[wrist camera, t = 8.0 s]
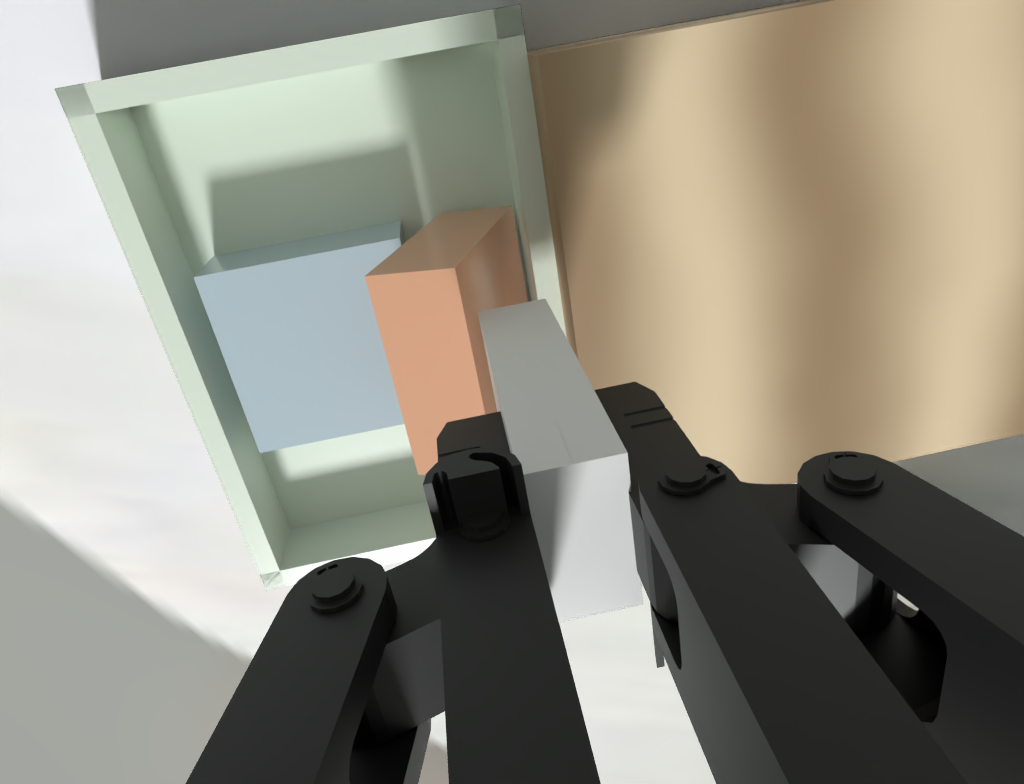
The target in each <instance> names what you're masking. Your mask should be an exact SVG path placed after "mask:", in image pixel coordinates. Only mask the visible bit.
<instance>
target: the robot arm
mask: <svg viewBox="0 0 1024 784" xmlns="http://www.w3.org/2000/svg"><path fill="white" fill-rule="evenodd" d="M478 316H479V321H480V326H481V331H482V336H483V341H484V347H485V352H486V357H487V362H488V367H489V372H490V377H491V382H492V387H493V392H494V397H495V403H496V408H497V412H494V413H489V414H485V415H480V416H475V417H470V418H465V419H460V420H455V421H451V422H447V423H446V424H445V426H444V428H443V429H442V431H441V432H440V434H439V436H438V437H437V454H438V462H437V463H436V464H435V465H434V466H433V467H432V468H431V469H430V470H429V471H428V472H427V473H426V476H425V479H424V482H423V488H424V492H425V495H426V499H427V503H428V507H429V510H430V514H431V518H432V522H433V525H434V529H435V533H436V539H435V540H434V541H433V542H432V544H431V545H430V546H429V547H428V548H427V549H426V550H424V551H423V552H422V553H421V554H419V555H418V556H417V557H415V558H413V559H411V560H409V561H407V562H406V563H404V564H402V565H399V566H397V567H395V568H393V569H390V570H388V571H386V572H385V571H384V569H383V567H382V566H381V565H380V564H379V563H377V562H375V561H373V560H371V559H369V558H360V557H348V558H343V559H337V560H333V561H330V562H328V563H326V564H323V565H321V566H319V567H317V568H314V569H313V570H312V571H310V572H309V573H308V574H306V575H305V576H304V577H302V578H301V579H299V580H298V582H297V583H296V584H295V585H294V587H293V588H292V589H291V590H290V592H289V593H288V594H287V596H286V598H285V600H284V602H283V604H282V605H281V607H280V609H279V611H278V613H277V615H276V617H275V618H274V620H273V622H272V624H271V626H270V628H269V630H268V632H267V633H266V635H265V637H264V639H263V641H262V643H261V645H260V646H259V648H258V650H257V652H256V654H255V656H254V658H253V659H252V661H251V663H250V665H249V667H248V669H247V671H246V672H245V675H244V676H243V678H242V680H241V682H240V684H239V686H238V687H237V689H236V691H235V693H234V695H233V697H232V699H231V700H230V702H229V704H228V706H227V708H226V710H225V712H224V713H223V715H222V717H221V719H220V721H219V723H218V725H217V726H216V728H215V730H214V732H213V734H212V736H211V738H210V740H209V741H208V743H207V745H206V747H205V749H204V751H203V752H202V754H201V756H200V758H199V760H198V762H197V764H196V766H195V767H194V769H193V771H192V773H191V775H190V777H189V779H188V780H187V782H186V784H418V782H419V777H420V773H421V769H422V765H423V760H424V756H425V752H426V748H427V743H428V739H429V735H430V731H431V718H433V717H434V716H436V715H438V714H440V713H442V712H444V711H445V716H446V735H447V754H448V773H449V784H601V783H600V780H599V776H598V772H597V768H596V764H595V760H594V756H593V752H592V749H591V745H590V741H589V737H588V733H587V729H586V725H585V722H584V718H583V714H582V710H581V706H580V702H579V698H578V695H577V691H576V687H575V683H574V679H573V675H572V671H571V668H570V664H569V660H568V656H567V652H566V648H565V644H564V641H563V637H562V633H561V629H560V625H559V622H564V621H569V620H573V619H578V618H582V617H587V616H591V615H596V614H601V613H605V612H610V611H614V610H619V609H624V608H628V607H633V606H637V605H642V604H643V596H642V587H641V581H642V584H643V586H644V588H645V591H646V593H647V595H648V598H649V600H650V605H651V615H652V626H653V636H654V646H655V656H656V663H657V668H658V667H663V666H664V657H665V660H666V662H667V664H668V667H669V669H670V672H671V674H672V677H673V679H674V681H675V684H676V686H677V689H678V691H679V694H680V696H681V699H682V701H683V703H684V706H685V708H686V711H687V713H688V716H689V718H690V720H691V723H692V725H693V728H694V730H695V733H696V735H697V737H698V740H699V742H700V745H701V747H702V750H703V752H704V755H705V757H706V759H707V762H708V764H709V767H710V769H711V772H712V774H713V776H714V779H715V781H716V784H1024V537H1023V536H1021V535H1020V534H1018V533H1016V532H1014V531H1013V530H1011V529H1009V528H1007V527H1006V526H1004V525H1002V524H1000V523H998V522H997V521H995V520H993V519H991V518H990V517H988V516H986V515H984V514H983V513H981V512H979V511H977V510H975V509H974V508H972V507H970V506H968V505H967V504H965V503H963V502H961V501H960V500H958V499H956V498H954V497H952V496H951V495H949V494H947V493H945V492H944V491H942V490H940V489H938V488H937V487H935V486H933V485H931V484H929V483H928V482H926V481H924V480H922V479H921V478H919V477H917V476H915V475H913V474H912V473H910V472H908V471H906V470H905V469H903V468H901V467H899V466H898V465H896V464H894V463H892V462H890V461H887V460H885V459H882V458H880V457H878V456H875V455H871V454H865V453H860V452H854V451H843V452H842V451H839V452H829V453H825V454H821V455H817V456H814V457H813V458H811V459H809V460H808V461H806V462H805V463H803V464H802V466H801V468H800V470H799V472H798V475H797V484H755V483H746V482H741V481H740V480H739V479H738V478H737V476H736V475H735V474H734V472H733V471H732V470H731V469H729V468H728V467H727V466H726V465H725V464H723V463H722V462H720V461H717V460H715V459H712V458H709V457H706V456H700V454H699V453H698V452H697V450H696V449H695V447H694V446H693V445H692V443H691V442H690V440H689V439H688V437H687V436H686V435H685V433H684V432H683V430H682V429H681V428H680V426H679V425H678V423H677V422H676V421H675V420H674V419H673V416H672V415H671V413H670V412H669V411H668V409H667V408H665V405H664V404H663V402H662V401H661V399H660V398H659V396H658V395H657V394H656V392H655V391H653V390H651V389H649V388H647V387H645V386H643V385H641V384H639V383H637V382H631V383H626V384H621V385H616V386H611V387H606V388H601V389H596V390H594V389H593V387H592V385H591V383H590V381H589V379H588V378H587V376H586V374H585V372H584V370H583V368H582V366H581V364H580V363H579V361H578V359H577V357H576V355H575V353H574V351H573V349H572V347H571V346H570V344H569V342H568V340H567V338H566V336H565V334H564V332H563V331H562V329H561V327H560V325H559V323H558V321H557V319H556V317H555V316H554V314H553V312H552V310H551V308H550V306H549V304H548V302H547V301H546V299H540V300H535V301H530V302H525V303H520V304H515V305H510V306H505V307H500V308H495V309H490V310H485V311H480V312H478ZM898 593H899V594H900V595H901V596H903V597H904V598H905V599H907V600H908V601H909V602H911V603H912V604H913V605H915V606H916V607H917V608H919V609H918V611H917V610H914V609H912V608H911V607H909V606H907V605H906V604H905V603H903V602H902V601H901V600H899V599H898V598H897V595H898Z"/></svg>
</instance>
